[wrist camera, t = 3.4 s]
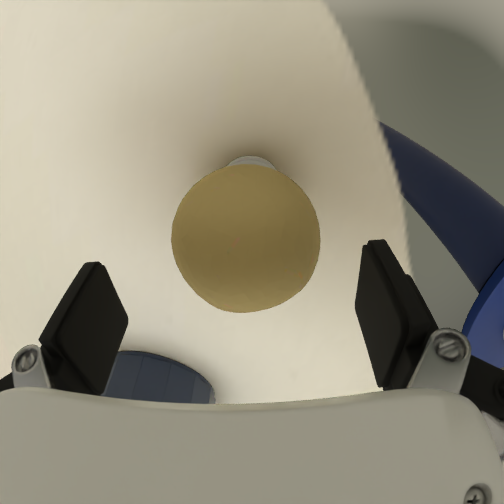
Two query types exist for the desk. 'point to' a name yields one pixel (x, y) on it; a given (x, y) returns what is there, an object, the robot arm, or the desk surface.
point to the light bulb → (246, 237)
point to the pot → (156, 380)
